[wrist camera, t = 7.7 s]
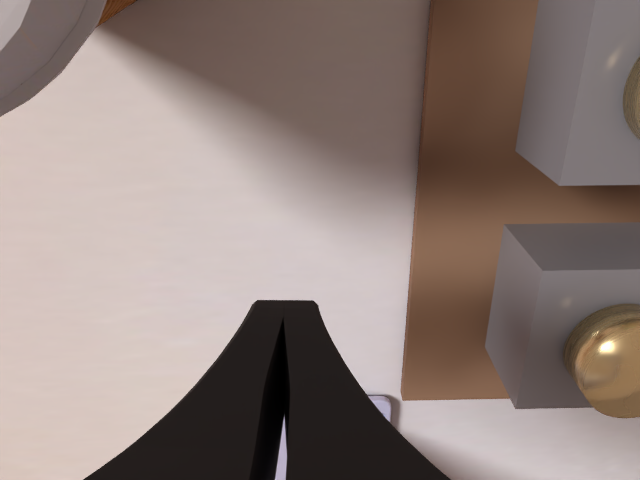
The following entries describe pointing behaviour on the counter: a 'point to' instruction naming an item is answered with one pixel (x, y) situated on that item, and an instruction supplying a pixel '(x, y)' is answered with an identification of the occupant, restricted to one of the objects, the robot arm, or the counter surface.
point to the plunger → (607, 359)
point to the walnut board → (477, 193)
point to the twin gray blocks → (568, 170)
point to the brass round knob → (633, 99)
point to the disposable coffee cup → (43, 41)
